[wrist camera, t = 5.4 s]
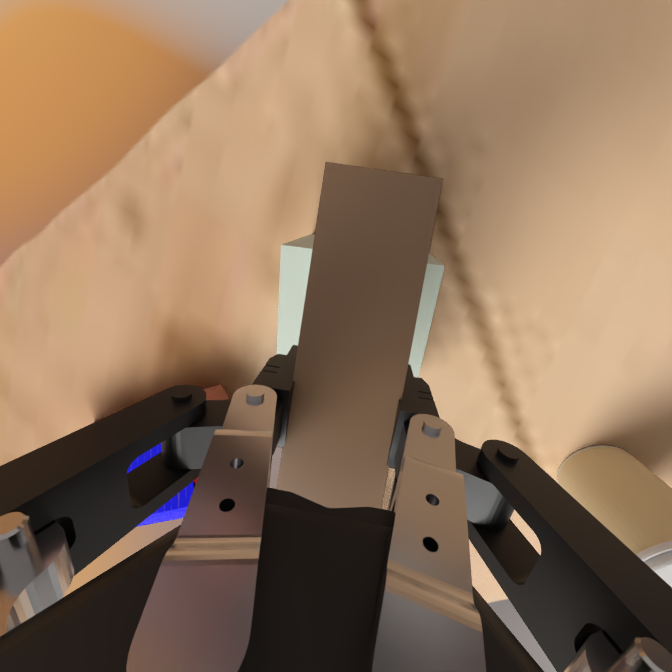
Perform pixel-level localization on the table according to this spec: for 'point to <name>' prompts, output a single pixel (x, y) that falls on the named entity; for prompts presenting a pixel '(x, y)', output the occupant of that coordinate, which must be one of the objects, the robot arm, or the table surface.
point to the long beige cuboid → (356, 332)
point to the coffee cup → (624, 501)
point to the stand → (294, 293)
